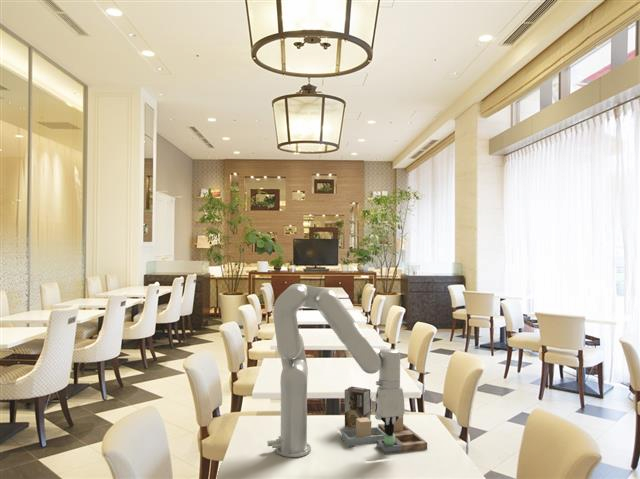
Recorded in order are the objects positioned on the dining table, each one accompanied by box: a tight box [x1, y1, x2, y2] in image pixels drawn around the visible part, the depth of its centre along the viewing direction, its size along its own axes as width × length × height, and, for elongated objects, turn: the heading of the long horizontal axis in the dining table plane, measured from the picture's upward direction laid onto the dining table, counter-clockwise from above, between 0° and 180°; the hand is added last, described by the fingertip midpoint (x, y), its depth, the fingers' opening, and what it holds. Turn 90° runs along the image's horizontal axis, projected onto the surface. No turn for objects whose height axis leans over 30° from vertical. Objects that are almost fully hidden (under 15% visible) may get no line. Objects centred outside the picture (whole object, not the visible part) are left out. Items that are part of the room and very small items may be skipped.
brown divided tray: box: [377, 423, 428, 453], centre depth 187 cm, size 10×22×3 cm, turn 16°
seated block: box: [389, 416, 404, 432], centre depth 192 cm, size 4×4×8 cm
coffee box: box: [344, 386, 371, 430], centre depth 199 cm, size 9×6×16 cm
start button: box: [384, 433, 395, 446], centre depth 177 cm, size 4×4×5 cm
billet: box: [355, 417, 372, 438], centre depth 187 cm, size 4×4×8 cm
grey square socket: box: [376, 439, 403, 455], centre depth 177 cm, size 7×7×3 cm
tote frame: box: [340, 426, 384, 448], centre depth 187 cm, size 15×9×3 cm, turn 106°
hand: (389, 434), depth 177 cm, fingers closed
